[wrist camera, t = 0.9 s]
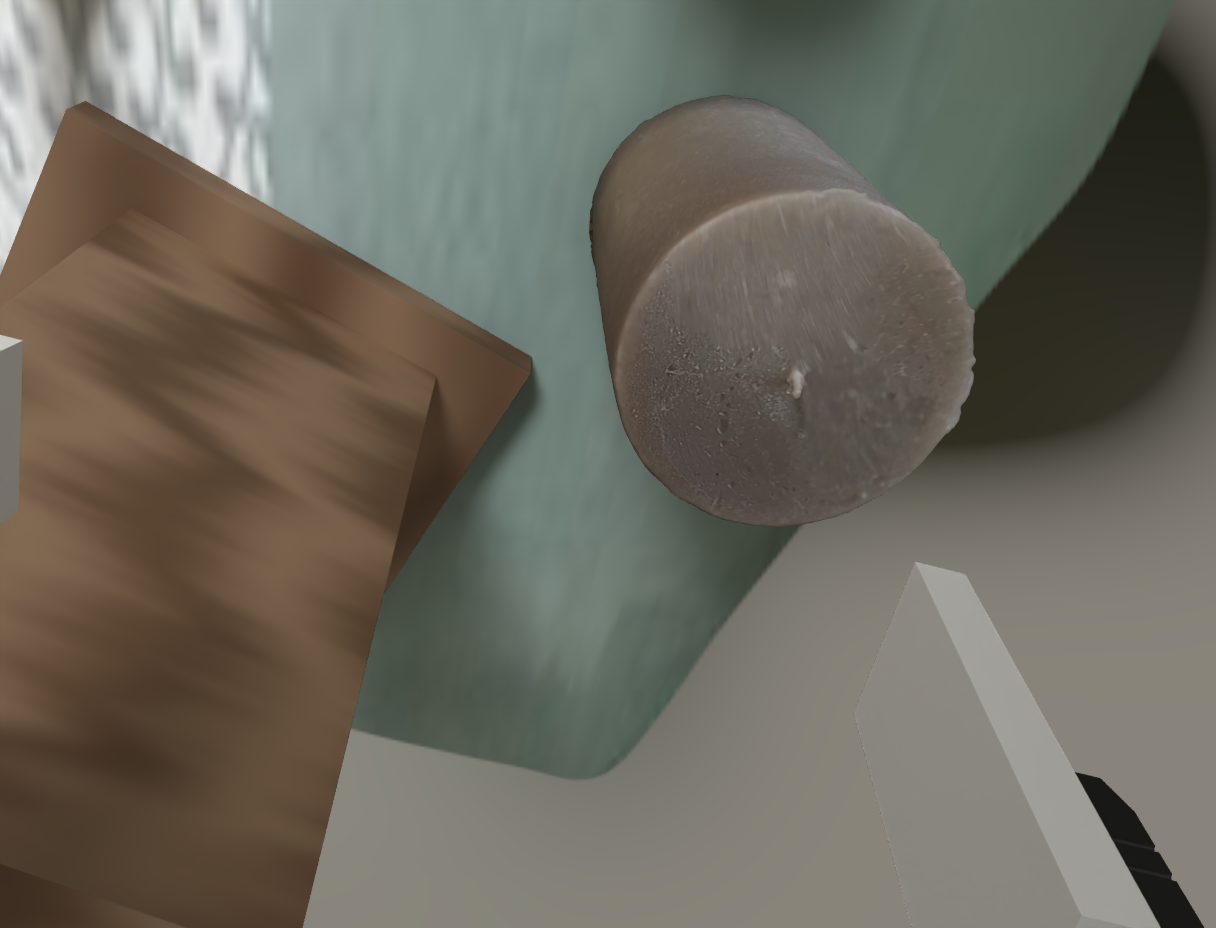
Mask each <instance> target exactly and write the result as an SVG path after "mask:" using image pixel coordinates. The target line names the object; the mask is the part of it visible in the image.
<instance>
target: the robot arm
mask: <svg viewBox="0 0 1216 928" xmlns="http://www.w3.org/2000/svg"><path fill="white" fill-rule="evenodd" d="M22 355H23V340H19V339H15V338H11V337H7V336H3V335H0V525H1V524H3V523H4V522H5V521H7V520H8V519H9V518H11V517H12V516H14V515H15V514H16V513H18V504H19V467H20V429H21V392H22ZM853 714H854V718H855V722H856V725H857V729H858V732H859V736H860V740H861V744H862V747H863V751H864V755H865V758H866V762H867V766H868V769H869V773H870V777H871V780H872V784H873V788H874V791H875V795H876V799H877V802H878V806H879V810H880V813H881V817H882V820H883V824H884V828H885V832H886V835H887V839H888V843H889V846H890V850H891V854H892V857H893V861H894V865H895V868H896V872H897V876H898V879H899V883H900V887H901V890H902V894H903V898H904V901H905V905H906V909H907V912H908V916H909V920H910V923H911V927H912V928H1204V926H1203V925H1202V923H1201V921H1200V920H1199V918H1198V916H1197V915H1196V913H1195V911H1194V910H1193V908H1192V906H1191V905H1190V903H1189V901H1188V900H1187V898H1186V896H1185V895H1184V893H1183V892H1182V890H1181V888H1180V887H1179V885H1178V883H1177V882H1176V881H1173V880H1171V876H1172V873H1171V872H1170V870H1169V868H1168V867H1167V865H1166V863H1165V862H1164V860H1163V858H1162V857H1161V855H1160V854H1159V853H1158V852H1154V848H1155V845H1154V843H1153V842H1152V840H1151V838H1150V837H1149V835H1148V833H1147V832H1146V830H1145V828H1144V827H1143V825H1142V823H1141V822H1140V820H1139V818H1138V817H1137V815H1136V813H1135V812H1134V811H1133V810H1132V809H1131V808H1130V807H1129V806H1128V805H1127V804H1126V803H1125V802H1124V801H1123V800H1122V799H1121V798H1120V797H1119V796H1118V795H1117V794H1116V793H1115V792H1114V791H1113V790H1112V789H1111V788H1110V787H1109V786H1108V785H1106V783H1105V782H1103V780H1102V779H1100V778H1097V777H1093V776H1089V775H1085V774H1081V773H1076V772H1074V770H1073V768H1072V766H1071V765H1070V763H1069V761H1068V759H1067V757H1066V756H1065V754H1064V752H1063V750H1062V748H1061V746H1060V745H1059V743H1058V741H1057V739H1056V737H1055V736H1054V734H1053V732H1052V730H1051V729H1050V727H1049V725H1048V723H1047V721H1046V719H1045V718H1044V716H1043V714H1042V712H1041V710H1040V709H1039V707H1038V705H1037V703H1036V701H1035V699H1034V698H1033V696H1032V694H1031V692H1030V690H1029V689H1028V687H1027V685H1026V683H1025V681H1024V680H1023V678H1022V676H1021V674H1020V672H1019V670H1018V669H1017V667H1016V665H1015V663H1014V661H1013V660H1012V658H1011V656H1010V655H1009V652H1008V651H1007V649H1006V647H1005V645H1004V643H1003V642H1002V640H1001V638H1000V636H999V634H998V633H997V631H996V629H995V627H994V625H993V623H992V622H991V620H990V618H989V616H988V614H987V613H986V611H985V609H984V607H983V605H982V604H981V602H980V600H979V598H978V596H977V595H976V593H975V591H974V589H973V587H972V585H971V584H970V582H969V580H968V578H967V576H966V575H965V574H963V573H959V572H955V571H951V570H947V569H942V568H938V567H935V566H930V565H927V564H923V563H919V562H915V563H914V566H913V568H912V571H911V573H910V576H909V578H908V580H907V583H906V585H905V588H904V590H903V593H902V595H901V597H900V600H899V602H898V605H897V607H896V610H895V612H894V615H893V617H892V620H891V622H890V624H889V627H888V629H887V632H886V634H885V637H884V639H883V642H882V644H881V646H880V649H879V651H878V654H877V656H876V659H875V661H874V664H873V666H872V668H871V671H870V673H869V676H868V679H867V681H866V683H865V686H864V688H863V690H862V693H861V695H860V698H859V700H858V703H857V705H856V708H855V710H854V712H853Z"/></svg>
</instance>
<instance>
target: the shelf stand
mask: <svg viewBox="0 0 1216 928" xmlns="http://www.w3.org/2000/svg"><path fill="white" fill-rule="evenodd" d="M0 335H3V336H7V337H11V338H15V339H19V340H23V355H22V392H21V429H20V467H19V504H18V513H16V514H15V515H14V516H12V517H11V518H9V519H8V520H7V521H5V522H4V523H3V524H1V525H0V928H302V927H303V923H304V919H305V915H306V911H307V907H308V903H309V899H310V895H311V890H312V886H313V882H314V878H315V874H316V870H317V866H318V861H319V857H320V853H321V849H322V845H323V841H324V836H325V833H326V829H327V824H328V820H329V816H330V812H331V808H332V804H333V800H334V796H335V792H336V787H337V783H338V779H339V775H340V771H341V767H342V763H343V759H344V754H345V750H346V746H347V742H348V738H349V733H350V730H351V726H352V721H353V717H354V713H355V709H356V705H357V701H358V697H359V693H360V688H361V684H362V680H363V676H364V672H365V668H366V664H367V660H368V656H369V651H370V647H371V643H372V639H373V635H374V631H375V627H376V623H377V618H378V614H379V610H380V606H381V602H382V598H383V594H384V593H385V591H386V590H387V588H388V587H389V585H390V584H391V582H392V581H393V579H394V578H395V576H396V575H397V573H398V572H399V570H400V569H401V567H402V566H403V564H404V563H405V561H406V560H407V558H408V557H409V555H410V554H411V552H412V551H413V549H414V548H415V546H416V545H417V543H418V542H419V540H420V539H421V537H422V536H423V534H424V533H425V531H426V530H427V528H428V527H429V525H430V524H431V522H432V521H433V519H434V518H435V516H436V515H437V513H438V512H439V510H440V509H441V507H442V506H443V504H444V503H445V501H446V500H447V498H448V497H449V495H450V494H451V492H452V491H453V489H454V488H455V486H456V485H457V483H458V482H459V480H460V479H461V477H462V476H463V474H464V473H465V471H466V470H467V468H468V467H469V465H470V464H471V462H472V461H473V459H474V458H475V456H476V455H477V453H478V452H479V450H480V449H481V447H482V446H483V444H484V443H485V441H486V440H487V438H488V437H489V435H490V434H491V432H492V431H493V429H494V428H495V426H496V425H497V423H498V422H499V420H500V419H501V417H502V416H503V414H504V413H505V411H506V410H507V408H508V407H509V405H510V404H511V402H512V401H513V399H514V398H515V396H516V395H517V393H518V392H519V390H520V389H521V387H522V386H523V384H524V383H525V381H526V380H527V378H528V377H529V375H530V374H531V356H529V355H527V354H525V353H524V352H522V351H520V350H518V349H517V348H515V347H513V346H511V345H510V344H508V343H506V342H504V341H503V340H501V339H499V338H497V337H496V336H494V335H492V334H490V333H489V332H487V331H485V330H484V329H482V328H480V327H478V326H477V325H475V324H473V323H471V322H470V321H468V320H466V319H464V318H463V317H461V316H459V315H457V314H456V313H454V312H452V311H450V310H449V309H447V308H445V307H443V306H442V305H440V304H438V303H436V302H435V301H433V300H431V299H429V298H428V297H426V296H424V295H422V294H421V293H419V292H417V291H416V290H414V289H412V288H410V287H409V286H407V285H405V284H403V283H402V282H400V281H398V280H396V279H395V278H393V277H391V276H389V275H388V274H386V273H384V272H382V271H381V270H379V269H377V268H375V267H374V266H372V265H370V264H368V263H367V262H365V261H363V260H361V259H360V258H358V257H356V256H355V255H353V254H351V253H349V252H348V251H346V250H344V249H342V248H341V247H339V246H337V245H335V244H334V243H332V242H330V241H328V240H327V239H325V238H323V237H321V236H320V235H318V234H316V233H314V232H313V231H311V230H309V229H307V228H306V227H304V226H302V225H300V224H299V223H297V222H295V221H293V220H292V219H290V218H288V217H287V216H285V215H283V214H281V213H280V212H278V211H276V210H274V209H273V208H271V207H269V206H267V205H266V204H264V203H262V202H260V201H259V200H257V199H255V198H253V197H252V196H250V195H248V194H246V193H245V192H243V191H241V190H239V189H238V188H236V187H234V186H232V185H231V184H229V183H227V182H226V181H224V180H222V179H220V178H219V177H217V176H215V175H213V174H212V173H210V172H208V171H206V170H205V169H203V168H201V167H199V166H198V165H196V164H194V163H192V162H191V161H189V160H187V159H185V158H184V157H182V156H180V155H178V154H177V153H175V152H173V151H171V150H170V149H168V148H166V147H165V146H163V145H161V144H159V143H158V142H156V141H154V140H152V139H151V138H149V137H147V136H145V135H144V134H142V133H140V132H138V131H137V130H135V129H133V128H131V127H130V126H128V125H126V124H124V123H123V122H121V121H119V120H117V119H116V118H114V117H112V116H110V115H109V114H107V113H105V112H103V111H102V110H100V109H98V108H97V107H95V106H93V105H91V104H90V103H88V102H86V101H84V102H82V103H80V104H78V105H76V106H73V107H71V108H69V109H67V110H66V112H65V114H64V117H63V119H62V122H61V124H60V127H59V129H58V132H57V134H56V137H55V139H54V142H53V145H52V147H51V150H50V152H49V155H48V157H47V160H46V162H45V165H44V167H43V170H42V172H41V175H40V177H39V180H38V182H37V185H36V187H35V190H34V192H33V195H32V197H31V200H30V202H29V205H28V207H27V210H26V212H25V215H24V217H23V220H22V222H21V225H20V227H19V230H18V232H17V235H16V237H15V240H14V243H13V245H12V248H11V250H10V253H9V255H8V258H7V260H6V263H5V265H4V268H3V270H2V273H1V275H0Z"/></svg>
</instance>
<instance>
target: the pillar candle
mask: <svg viewBox="0 0 1216 928" xmlns="http://www.w3.org/2000/svg"><path fill="white" fill-rule="evenodd" d="M592 204H593V205H592V208H591V210H590V228H589V234H590V240H591V241H592V242H593V243H592V245H591V249H592V250H591V254H592V258H593V262H594V265H595V269H596V278H597V287H598V293H599V300H600V306H601V313H602V322H603V329H604V334H605V342H606V350H607V354H608V361H609V368H610V373H611V377H612V382H613V389H614V393H615V398H616V403H617V406H618V410H619V413H620V417H621V421H622V424H623V427H624V430H625V432H626V434H627V436H628V438H629V440H630V442H631V444H632V446H633V448H634V450H635V451H636V453H637V455H638V457H639V458H640V459H641V461H642V462H643V464H644V465H645V467H647V469H648V470H649V471H650V472H651V473H652V474H653V475H654V476H655V477H656V478H657V479H658V480H659V481H661V482H662V483H663V484H664V485H665V486H666V487H667V488H668V489H669V490H670V492H671V493H673V494H674V495H676V496H677V497H679V498H680V499H682V500H684V501H686V502H688V503H690V504H692V505H694V506H696V507H697V508H699V509H700V510H702V511H704V512H706V513H708V514H710V515H713V516H715V517H718V518H721V519H724V520H729V521H732V522H736V523H743V524H748V525H755V526H771V527H772V526H775V527H780V526H793V525H800V524H806V523H812V522H816V521H821V520H824V519H828V518H832V517H836V516H839V515H842V514H845V513H848V512H850V511H852V510H854V509H855V508H858V507H860V506H861V505H863V504H865V503H867V502H869V501H871V500H872V499H874V498H876V497H878V496H881V495H883V493H884V492H886V491H887V490H889V489H891V488H892V487H893V486H894V485H896V484H897V483H899V482H900V481H901V480H902V479H905V478H906V477H907V476H908V475H909V474H910V473H911V472H913V470H914V469H915V468H917V467H918V466H919V465H920V464H921V463H922V462H923V460H924V459H925V458H926V457H927V455H928V454H929V453H931V451H932V450H933V449H934V448H935V446H936V445H937V443H938V442H939V441H940V440H941V439H942V437H943V436H944V435H945V434H946V433H948V432H950V430H951V428H954V427H955V425H956V423H957V422H958V421H959V417H960V414H961V411H960V407H961V405H962V404H963V403H964V402H965V400H966V398H967V396H968V395H969V394H970V388H971V386H972V383H973V378H974V375H973V372H972V370H971V368H972V366H973V365H974V363H975V361H976V359H975V357H974V356H973V324H974V321H975V317H974V313H975V310H974V309H971V308H970V307H969V306H968V304H967V299H966V291H967V290H966V286H965V283H964V280H963V278H962V277H961V276H960V275H959V274H958V272H957V271H956V270H955V268H954V267H953V265H952V263H951V261H950V260H949V258H948V257H947V256H946V254H945V253H944V252H943V250H942V249H941V248H940V242H939V241H938V240H937V239H935V238H934V237H932V236H931V235H930V234H928V233H927V232H926V231H925V230H924V229H923V228H922V227H921V226H920V225H919V224H917V223H915V222H914V221H913V220H911V219H910V218H909V217H908V216H907V215H906V214H904V213H903V212H902V211H901V210H899V209H898V208H897V207H896V206H895V205H893V204H892V203H891V202H890V201H889V200H888V199H887V198H886V197H884V196H883V195H882V194H881V193H880V192H879V191H878V190H877V189H876V188H875V187H873V186H872V185H871V184H870V183H869V182H868V181H867V180H866V179H865V178H863V177H862V176H861V175H860V174H859V173H858V172H857V171H856V170H855V169H853V168H852V167H851V166H850V165H849V164H848V163H847V162H846V161H845V160H844V159H843V158H842V157H841V156H840V155H839V154H837V153H836V152H834V151H833V150H832V149H831V148H830V147H828V146H827V145H826V144H825V143H824V142H823V141H822V140H821V139H820V138H819V137H818V136H817V135H816V134H814V133H813V132H812V131H811V130H810V129H808V128H807V127H806V126H805V125H804V124H803V123H802V122H800V121H799V120H798V119H796V118H795V117H793V116H792V115H790V114H788V113H786V112H785V111H783V110H781V109H778V108H775V107H773V106H770V105H768V104H765V103H763V102H760V101H758V100H756V99H750V98H735V97H732V96H729V95H728V96H726V95H724V96H713V97H708V98H701V99H696V100H692V101H689V102H685V103H683V104H680V105H677V106H675V107H673V108H671V109H669V110H666V111H665V112H663V113H661V114H659V115H657V116H655V117H654V118H652V119H650V120H646V121H644V122H643V123H642V124H640V125H639V126H638V127H637V128H636V130H635V131H633V132H632V133H631V134H630V135H629V136H628V137H627V138H626V139H625V140H624V141H623V142H622V143H621V144H620V146H619V147H618V148H617V149H616V151H615V152H614V154H613V156H612V158H611V159H610V161H609V162H608V164H607V165H606V167H605V169H604V170H603V172H602V174H601V176H600V178H599V182H598V185H597V188H596V190H595V193H594V196H593V201H592Z"/></svg>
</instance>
